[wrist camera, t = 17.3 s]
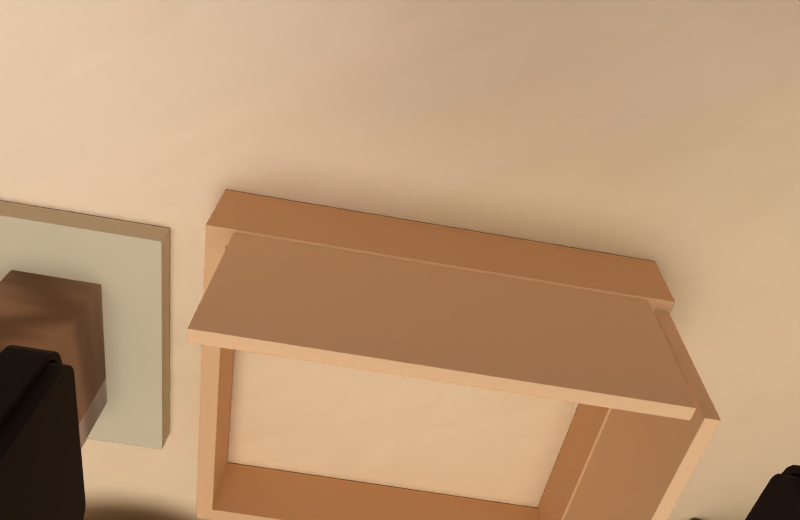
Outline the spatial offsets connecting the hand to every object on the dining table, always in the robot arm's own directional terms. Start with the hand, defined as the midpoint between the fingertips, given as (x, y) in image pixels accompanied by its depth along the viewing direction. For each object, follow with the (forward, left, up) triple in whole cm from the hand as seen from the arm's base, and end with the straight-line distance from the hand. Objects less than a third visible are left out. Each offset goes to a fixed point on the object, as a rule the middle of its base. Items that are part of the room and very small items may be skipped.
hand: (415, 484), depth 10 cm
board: (+18, +22, -28) cm, 40 cm away
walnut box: (+18, +22, -27) cm, 39 cm away
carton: (-3, +22, -28) cm, 36 cm away
